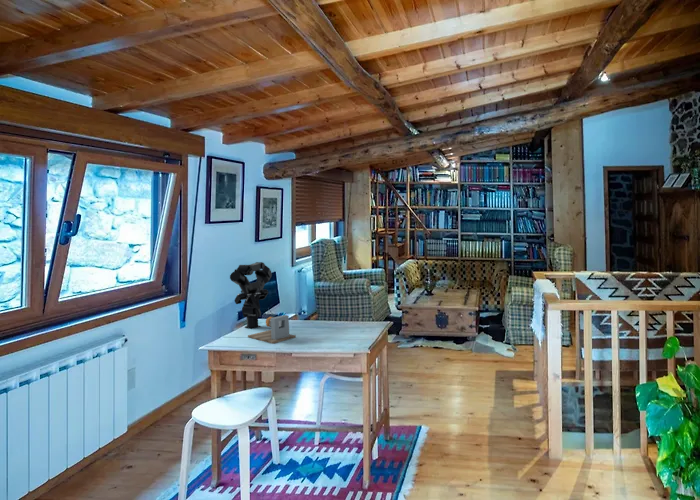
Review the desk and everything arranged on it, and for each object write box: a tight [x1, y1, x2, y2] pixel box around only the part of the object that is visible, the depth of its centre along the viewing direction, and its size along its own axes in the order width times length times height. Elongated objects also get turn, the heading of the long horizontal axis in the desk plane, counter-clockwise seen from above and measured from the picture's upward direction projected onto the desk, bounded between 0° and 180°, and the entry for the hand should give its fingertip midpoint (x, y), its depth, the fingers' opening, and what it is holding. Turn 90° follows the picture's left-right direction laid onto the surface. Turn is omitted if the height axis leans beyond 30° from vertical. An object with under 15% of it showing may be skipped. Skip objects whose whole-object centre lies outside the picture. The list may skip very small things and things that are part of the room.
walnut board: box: [247, 329, 297, 345], centre depth 254 cm, size 20×15×1 cm
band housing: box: [269, 314, 290, 340], centre depth 249 cm, size 3×9×10 cm, turn 138°
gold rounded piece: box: [265, 316, 282, 328], centre depth 252 cm, size 8×5×5 cm, turn 48°
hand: (259, 308), depth 260 cm, fingers closed
